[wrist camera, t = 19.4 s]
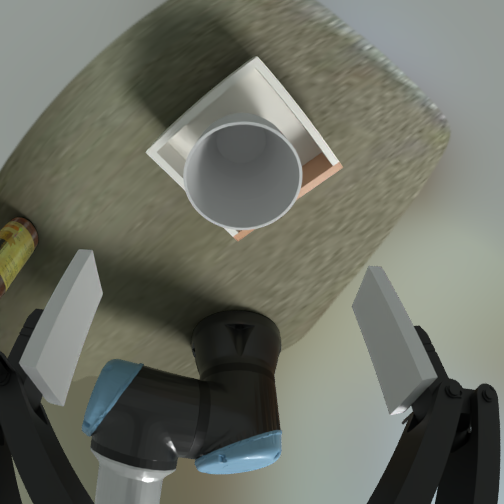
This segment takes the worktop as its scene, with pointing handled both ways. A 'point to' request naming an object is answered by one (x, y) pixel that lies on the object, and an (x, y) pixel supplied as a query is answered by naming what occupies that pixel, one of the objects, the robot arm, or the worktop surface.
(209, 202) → the cup
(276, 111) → the white open box
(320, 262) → the worktop surface
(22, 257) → the sauce bottle
